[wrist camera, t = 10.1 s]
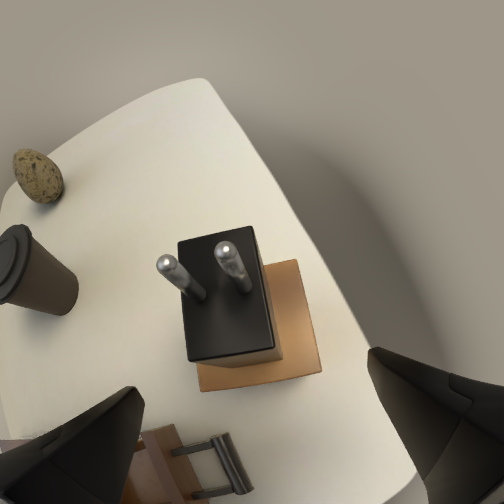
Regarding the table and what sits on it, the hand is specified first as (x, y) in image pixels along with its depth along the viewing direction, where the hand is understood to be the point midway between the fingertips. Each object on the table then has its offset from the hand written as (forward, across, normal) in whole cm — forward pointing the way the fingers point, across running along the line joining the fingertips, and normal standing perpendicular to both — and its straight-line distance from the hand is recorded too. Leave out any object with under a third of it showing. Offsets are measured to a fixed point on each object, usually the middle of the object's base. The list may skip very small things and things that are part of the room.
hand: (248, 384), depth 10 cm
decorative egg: (+28, -26, +9) cm, 40 cm away
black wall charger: (+4, 0, 0) cm, 5 cm away
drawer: (+3, -11, -14) cm, 18 cm away
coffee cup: (+17, -22, -2) cm, 28 cm away
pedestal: (+11, 0, -7) cm, 13 cm away
